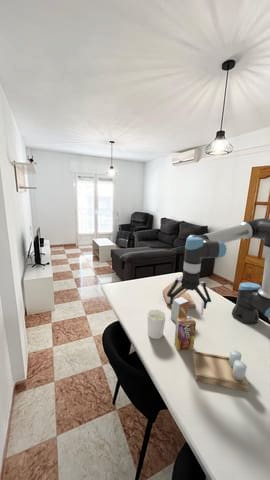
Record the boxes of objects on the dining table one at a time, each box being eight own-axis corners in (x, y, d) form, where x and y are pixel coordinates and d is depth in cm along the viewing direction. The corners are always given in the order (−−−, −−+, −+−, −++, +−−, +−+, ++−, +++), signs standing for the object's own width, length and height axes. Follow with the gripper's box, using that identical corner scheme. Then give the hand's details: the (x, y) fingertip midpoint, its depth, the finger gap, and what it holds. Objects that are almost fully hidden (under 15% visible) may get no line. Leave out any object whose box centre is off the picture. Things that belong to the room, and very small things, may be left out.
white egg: (237, 362, 88) (239, 350, 87) (240, 370, 84) (242, 358, 82) (227, 360, 89) (229, 348, 87) (229, 368, 84) (231, 356, 83)
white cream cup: (149, 341, 102) (151, 321, 99) (144, 329, 111) (145, 310, 108) (167, 338, 104) (168, 318, 102) (160, 327, 114) (161, 308, 111)
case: (161, 293, 154) (162, 274, 151) (187, 293, 155) (189, 274, 152) (166, 308, 134) (168, 286, 131) (196, 308, 135) (199, 287, 132)
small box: (177, 324, 117) (179, 304, 114) (170, 318, 122) (172, 299, 119) (187, 320, 121) (189, 300, 118) (179, 314, 126) (181, 296, 124)
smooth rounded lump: (241, 373, 82) (244, 361, 81) (245, 383, 78) (248, 370, 77) (230, 371, 83) (232, 359, 82) (233, 380, 79) (236, 368, 77)
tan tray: (237, 364, 89) (238, 359, 89) (247, 391, 77) (249, 385, 76) (192, 356, 93) (193, 351, 92) (195, 381, 81) (196, 374, 80)
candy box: (190, 343, 102) (193, 317, 98) (193, 349, 98) (196, 322, 94) (173, 343, 101) (176, 317, 98) (176, 350, 97) (178, 323, 93)
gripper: (218, 270, 92) (212, 311, 96) (164, 265, 96) (161, 304, 101) (221, 276, 85) (215, 320, 89) (163, 270, 89) (160, 312, 94)
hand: (186, 311), depth 95 cm, fingers open, 13 cm apart
